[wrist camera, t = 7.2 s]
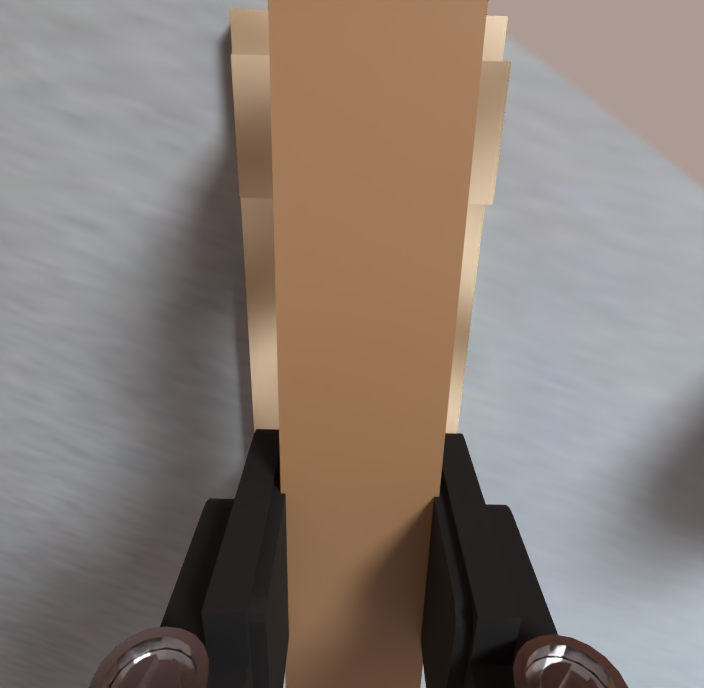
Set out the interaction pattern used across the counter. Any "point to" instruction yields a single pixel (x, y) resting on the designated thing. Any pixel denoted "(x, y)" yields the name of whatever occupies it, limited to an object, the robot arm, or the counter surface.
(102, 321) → the counter surface
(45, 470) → the counter surface
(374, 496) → the frame bar
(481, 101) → the display stand
